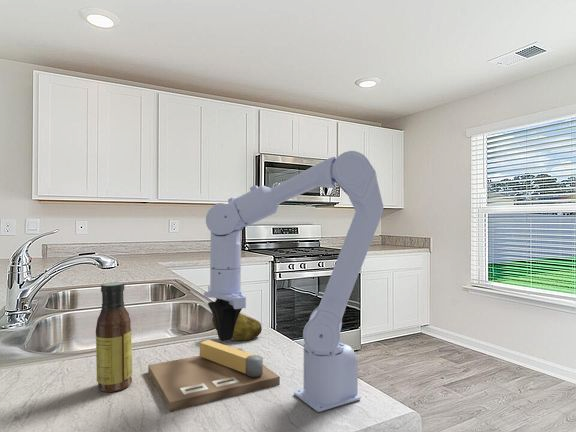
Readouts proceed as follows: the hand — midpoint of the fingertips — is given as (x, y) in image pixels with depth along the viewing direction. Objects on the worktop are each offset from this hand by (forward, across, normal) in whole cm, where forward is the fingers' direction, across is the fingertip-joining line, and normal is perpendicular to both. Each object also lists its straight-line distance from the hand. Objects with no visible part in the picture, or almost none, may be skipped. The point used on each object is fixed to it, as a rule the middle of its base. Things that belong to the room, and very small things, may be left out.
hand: (225, 339), depth 71 cm
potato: (+10, -28, +14) cm, 33 cm away
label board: (+9, -6, 0) cm, 11 cm away
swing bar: (+7, -7, +4) cm, 11 cm away
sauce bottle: (+10, -12, -18) cm, 24 cm away
